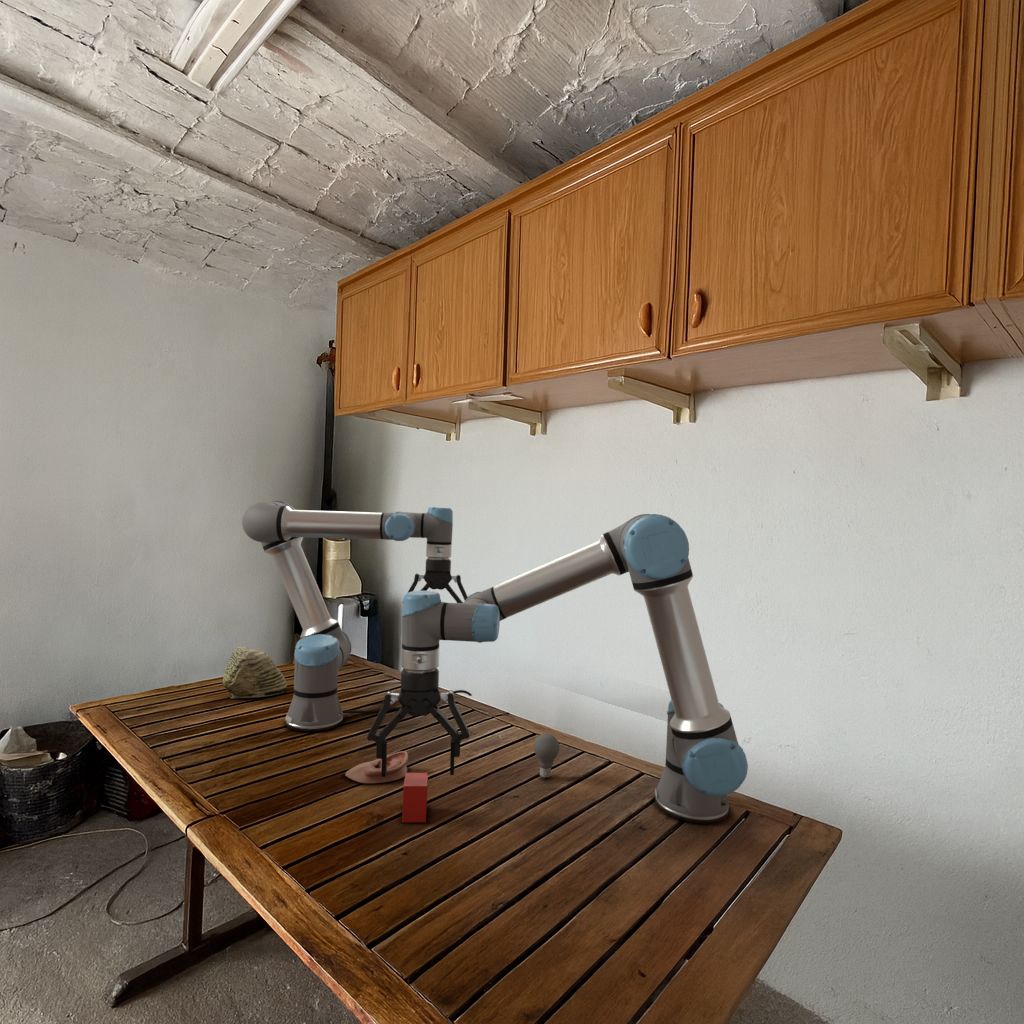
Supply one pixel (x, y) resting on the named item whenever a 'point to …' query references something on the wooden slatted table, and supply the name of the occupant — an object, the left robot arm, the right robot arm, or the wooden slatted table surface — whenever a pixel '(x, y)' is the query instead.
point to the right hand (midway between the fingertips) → (418, 773)
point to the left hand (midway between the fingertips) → (435, 628)
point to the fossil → (252, 674)
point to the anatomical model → (380, 769)
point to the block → (415, 797)
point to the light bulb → (546, 752)
